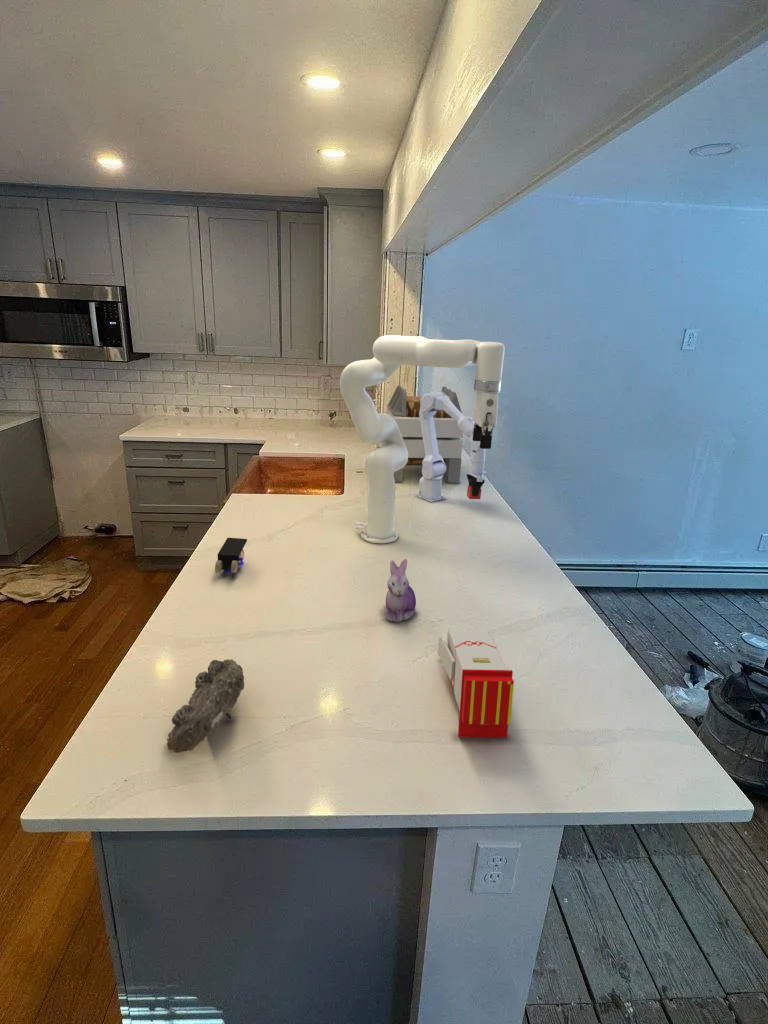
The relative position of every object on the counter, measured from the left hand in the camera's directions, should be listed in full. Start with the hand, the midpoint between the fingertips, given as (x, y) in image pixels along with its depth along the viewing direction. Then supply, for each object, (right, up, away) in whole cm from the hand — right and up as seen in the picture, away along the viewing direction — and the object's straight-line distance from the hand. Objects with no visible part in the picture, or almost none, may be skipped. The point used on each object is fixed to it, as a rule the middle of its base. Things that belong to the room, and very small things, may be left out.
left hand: (481, 444), depth 169 cm
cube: (+7, -14, +56) cm, 58 cm away
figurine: (-25, -47, -22) cm, 57 cm away
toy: (-11, -58, -51) cm, 78 cm away
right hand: (+7, -13, +56) cm, 58 cm away
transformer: (-12, -1, +106) cm, 106 cm away
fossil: (-62, -59, -61) cm, 105 cm away
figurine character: (-74, -37, -2) cm, 83 cm away
